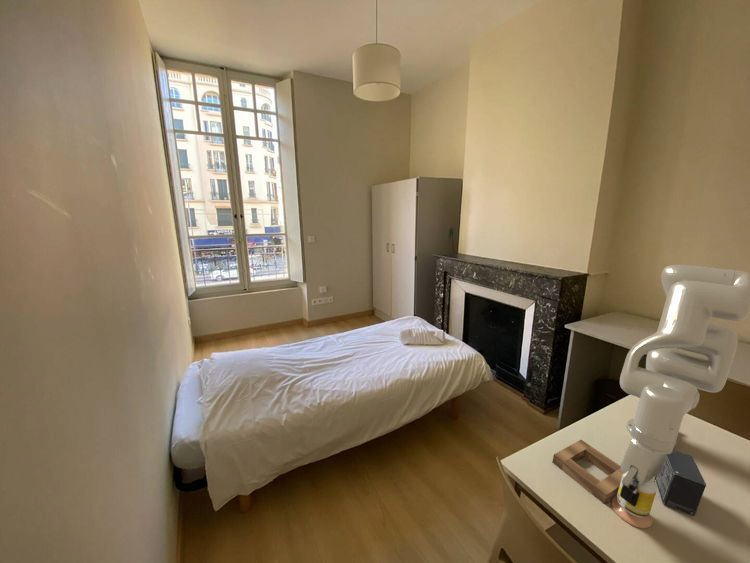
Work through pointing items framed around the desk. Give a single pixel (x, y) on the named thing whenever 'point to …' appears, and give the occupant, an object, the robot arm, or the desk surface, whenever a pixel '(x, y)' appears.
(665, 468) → the small box
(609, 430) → the desk surface
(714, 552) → the desk surface
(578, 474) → the pocket holder
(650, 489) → the pill bottle
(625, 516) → the coaster
